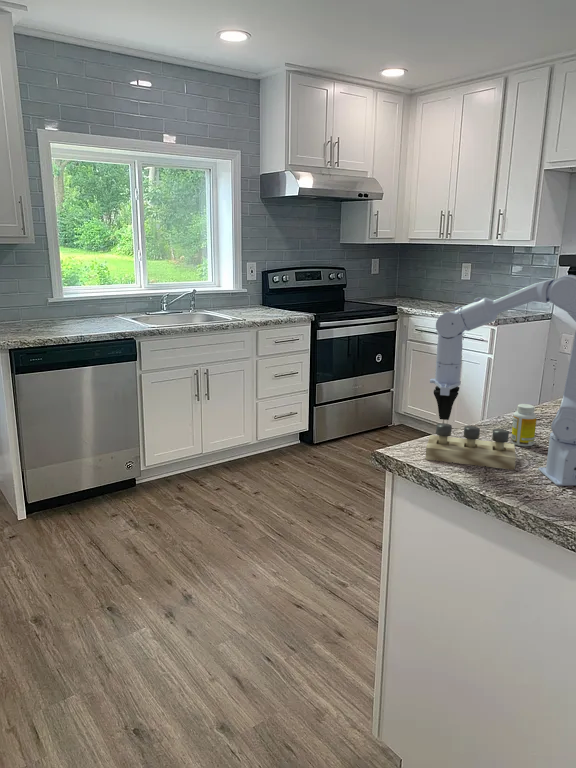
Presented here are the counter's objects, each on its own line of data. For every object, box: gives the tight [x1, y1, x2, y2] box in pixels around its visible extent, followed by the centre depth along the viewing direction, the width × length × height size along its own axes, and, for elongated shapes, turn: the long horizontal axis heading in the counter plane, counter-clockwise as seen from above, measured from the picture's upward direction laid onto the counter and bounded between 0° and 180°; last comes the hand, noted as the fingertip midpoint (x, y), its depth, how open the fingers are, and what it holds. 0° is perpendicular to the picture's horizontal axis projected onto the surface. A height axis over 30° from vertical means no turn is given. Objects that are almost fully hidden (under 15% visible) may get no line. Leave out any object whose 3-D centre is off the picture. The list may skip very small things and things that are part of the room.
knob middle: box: [463, 425, 481, 448], centre depth 138 cm, size 4×4×5 cm
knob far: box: [435, 422, 453, 445], centre depth 140 cm, size 4×4×5 cm
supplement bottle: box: [510, 403, 538, 447], centre depth 148 cm, size 6×6×10 cm
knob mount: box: [425, 434, 517, 471], centre depth 139 cm, size 20×10×3 cm, turn 71°
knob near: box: [491, 428, 510, 451], centre depth 136 cm, size 4×4×5 cm
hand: (444, 417), depth 139 cm, fingers open, 2 cm apart
